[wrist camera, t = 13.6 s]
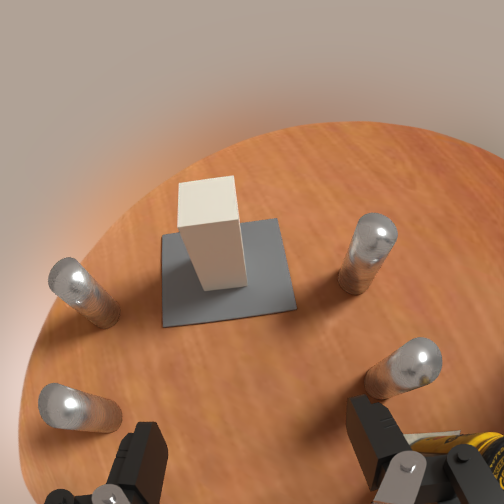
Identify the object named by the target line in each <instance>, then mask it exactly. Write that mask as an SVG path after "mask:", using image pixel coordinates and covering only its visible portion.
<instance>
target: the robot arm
mask: <svg viewBox="0 0 504 504" xmlns="http://www.w3.org/2000/svg"><path fill="white" fill-rule="evenodd" d="M346 428H347V433H348V436H349V439H350V441H351V444H352V446H353V449H354V451H355V454H356V456H357V459H358V461H359V464H360V466H361V469H362V471H363V474H364V476H365V479H366V481H367V484H368V486H369V489H370V491H374V490H377V489H378V492H377V494H376V496H375V498H374V500H373V502H372V503H371V504H426V503H432V504H504V491H503V489H502V487H501V486H500V484H499V483H498V481H497V479H496V478H495V476H494V474H493V473H492V471H491V470H490V468H489V466H488V465H487V463H486V462H485V460H484V459H483V457H482V455H481V454H480V452H479V451H478V449H477V448H476V447H474V446H472V445H469V444H459V445H456V446H454V447H453V448H452V449H451V450H450V451H449V452H448V455H441V456H434V457H425V456H423V455H422V454H420V453H418V452H416V451H413V450H412V449H411V447H410V445H409V444H408V442H407V440H406V439H405V437H404V435H403V433H402V432H401V430H400V428H399V427H398V425H397V423H396V422H395V420H394V418H393V416H392V415H391V413H390V411H389V410H388V408H386V407H385V406H384V405H382V404H381V403H379V402H378V403H374V404H371V403H370V401H369V399H368V397H367V396H366V395H365V394H363V395H359V396H355V397H351V398H348V399H347V411H346ZM167 460H168V448H167V444H166V442H165V440H164V438H163V436H162V433H161V431H160V429H159V427H158V425H157V423H156V422H138V423H137V425H136V428H135V431H134V433H128V434H127V435H126V436H125V437H124V438H123V439H122V441H121V443H120V446H119V449H118V451H117V454H116V458H115V460H114V463H113V465H112V468H111V471H110V474H109V477H108V480H107V483H106V484H105V485H102V486H100V487H98V488H97V489H96V490H95V491H94V492H93V494H91V495H82V496H73V495H72V493H71V492H69V491H68V490H65V489H57V490H54V491H52V492H51V493H50V494H49V495H48V496H47V498H46V501H45V503H44V504H159V502H160V496H161V491H162V486H163V480H164V475H165V470H166V465H167Z"/></svg>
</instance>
